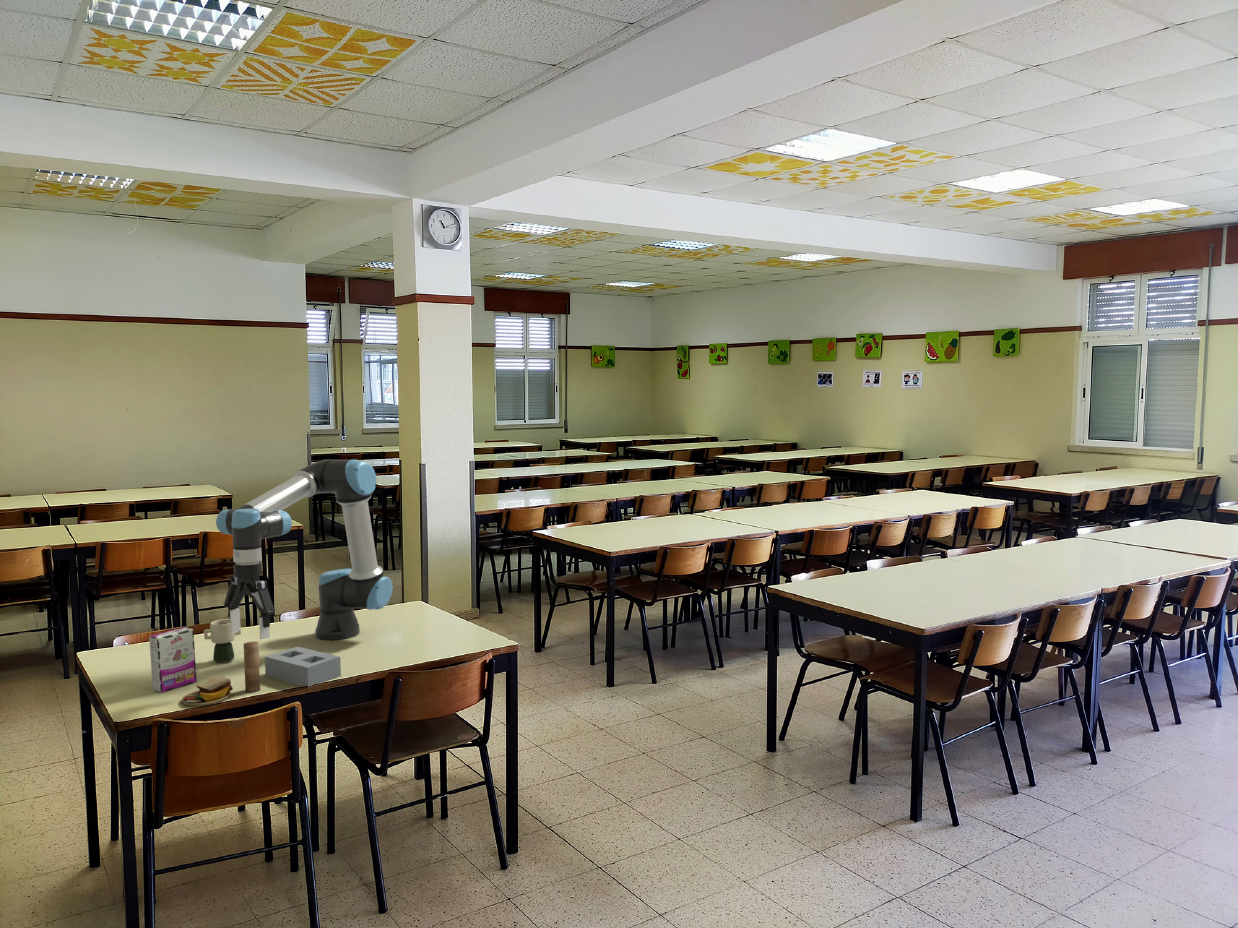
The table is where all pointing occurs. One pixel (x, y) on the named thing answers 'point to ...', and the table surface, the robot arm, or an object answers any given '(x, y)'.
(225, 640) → the cream green trophy cup
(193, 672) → the candy bar box
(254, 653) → the walnut dowel
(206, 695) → the toy sandwich meal
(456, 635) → the table surface
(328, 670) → the socket block
